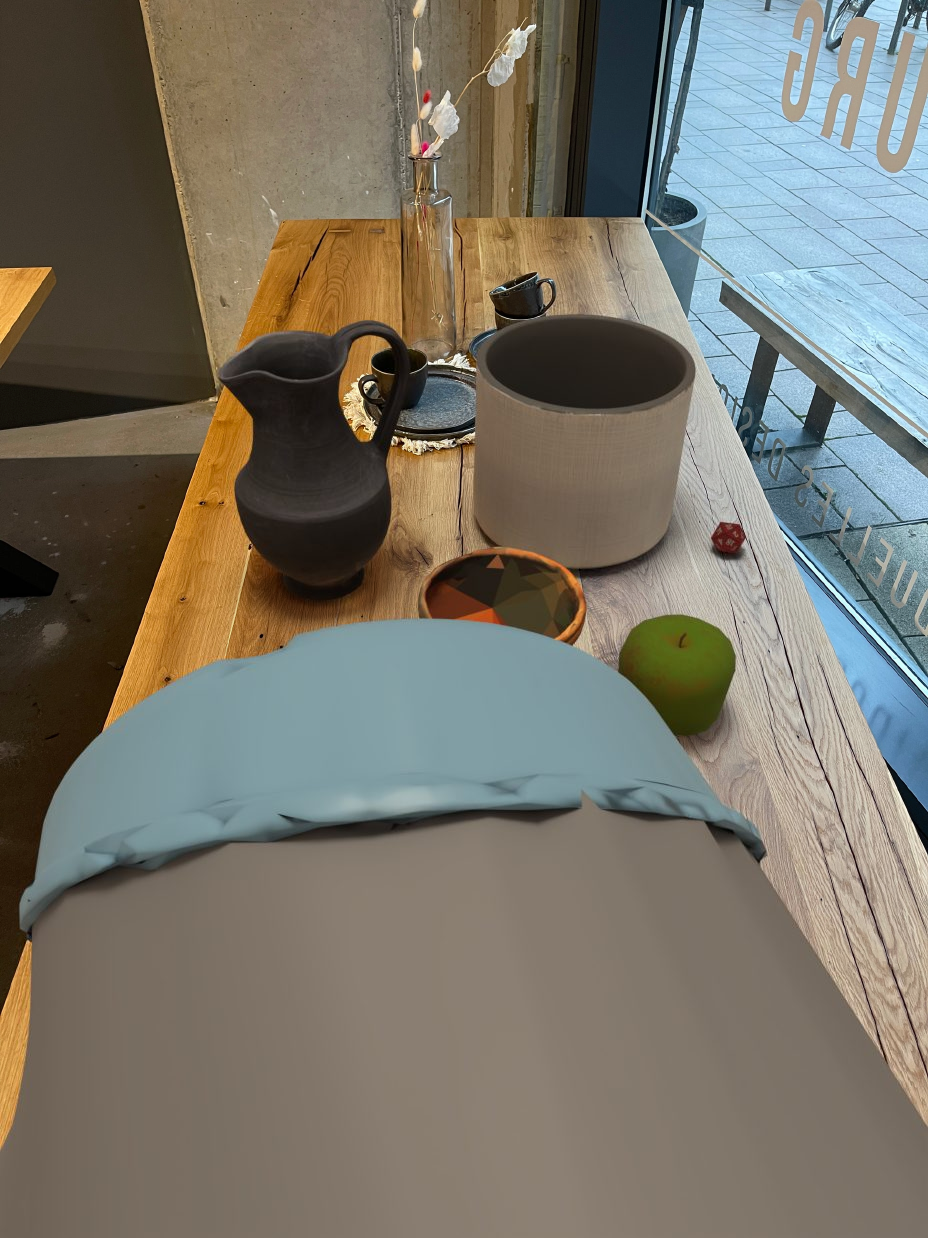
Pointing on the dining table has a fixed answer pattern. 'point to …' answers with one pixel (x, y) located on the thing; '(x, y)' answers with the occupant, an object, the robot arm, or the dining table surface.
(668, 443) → the planter
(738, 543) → the dice
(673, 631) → the apple
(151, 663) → the dining table surface
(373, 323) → the pitcher
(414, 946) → the robot arm
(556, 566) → the vessel
